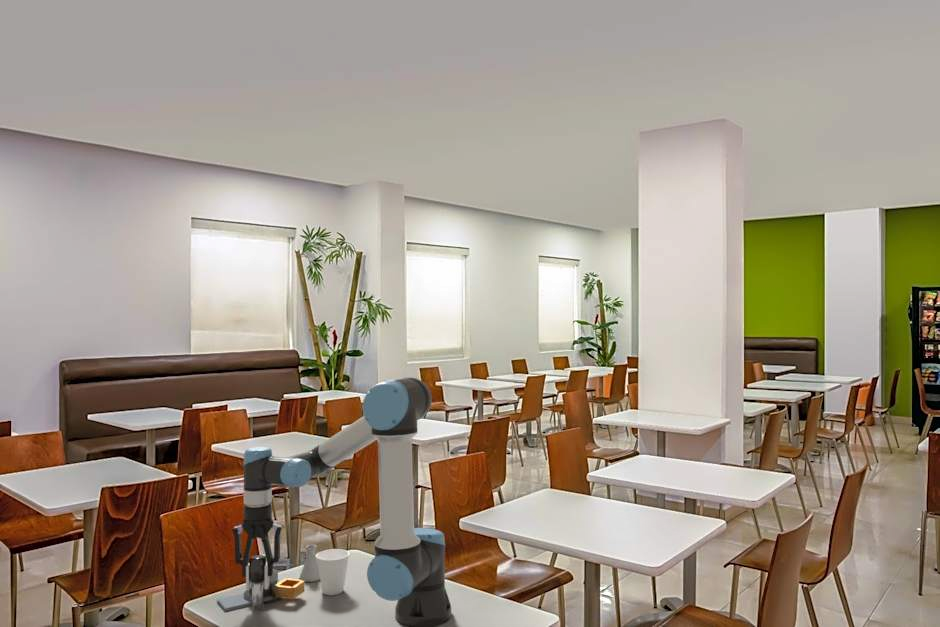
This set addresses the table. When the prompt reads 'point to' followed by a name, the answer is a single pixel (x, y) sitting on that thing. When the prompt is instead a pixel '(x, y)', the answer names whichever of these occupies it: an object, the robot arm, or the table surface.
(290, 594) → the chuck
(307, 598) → the table surface
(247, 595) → the dark grey disc
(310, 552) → the flask
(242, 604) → the key mat
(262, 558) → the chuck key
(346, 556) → the cup
